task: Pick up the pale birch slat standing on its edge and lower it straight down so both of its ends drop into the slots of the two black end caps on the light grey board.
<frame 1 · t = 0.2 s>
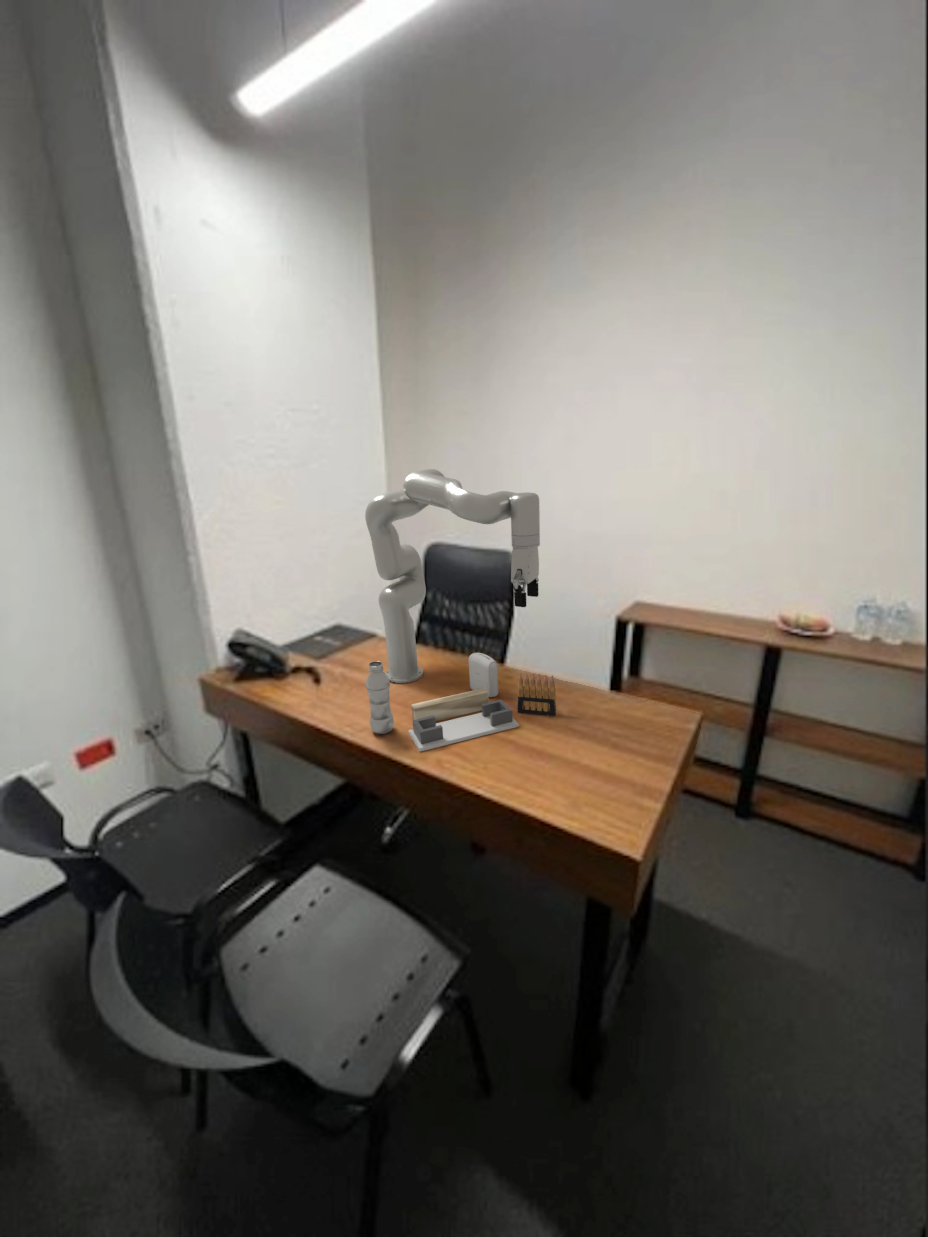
hand: (526, 601, 157), 31 cm above the table, tool pointing down, fingers open, 9 cm apart
slat: (451, 715, 162), on the table
plastic bottle: (383, 731, 155), on the table
photo printer: (484, 692, 174), on the table
ammunition clip: (536, 713, 160), on the table
end cap board: (463, 730, 153), on the table
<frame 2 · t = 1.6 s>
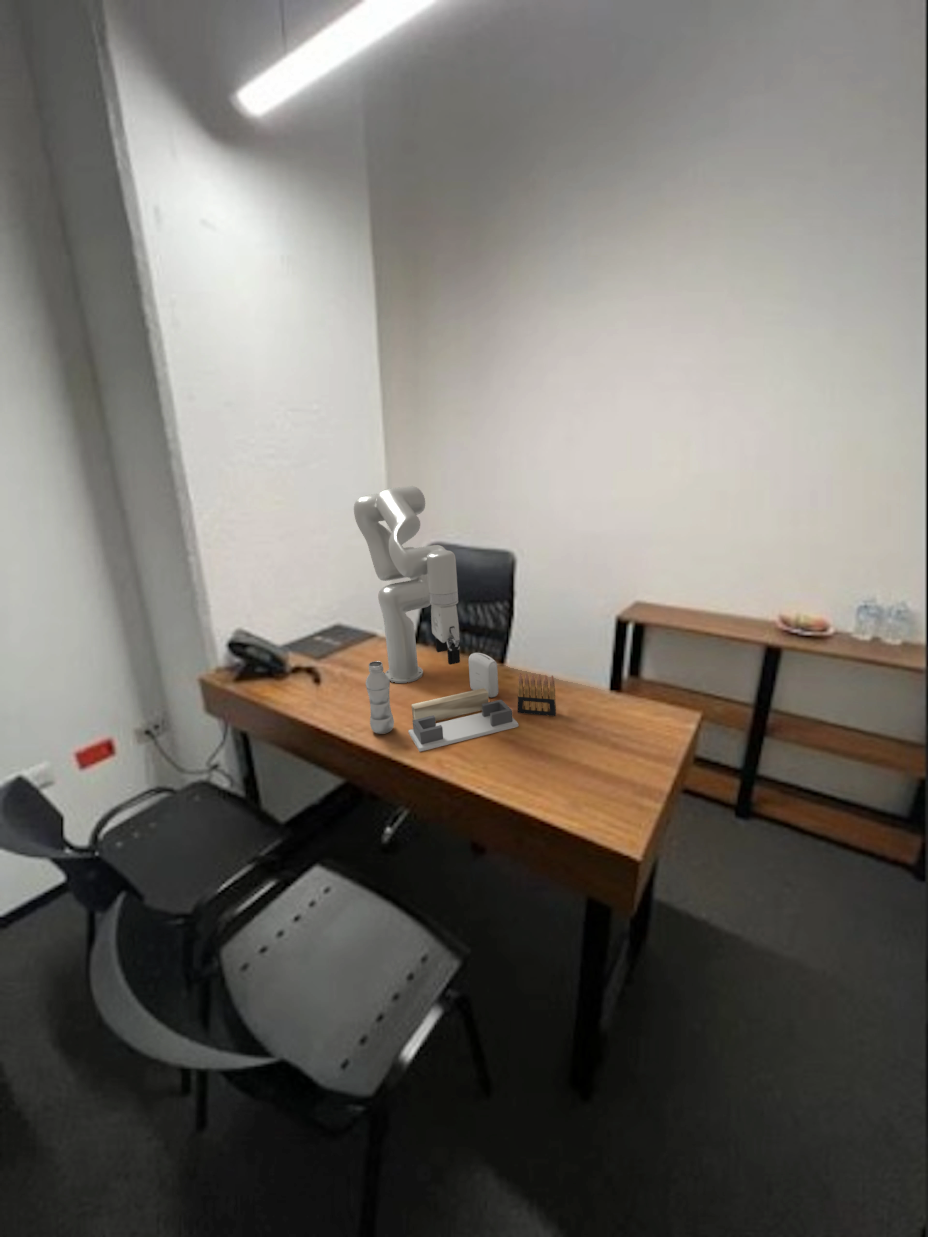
hand: (448, 657, 156), 18 cm above the table, tool pointing down, fingers open, 9 cm apart
nothing on the table moved.
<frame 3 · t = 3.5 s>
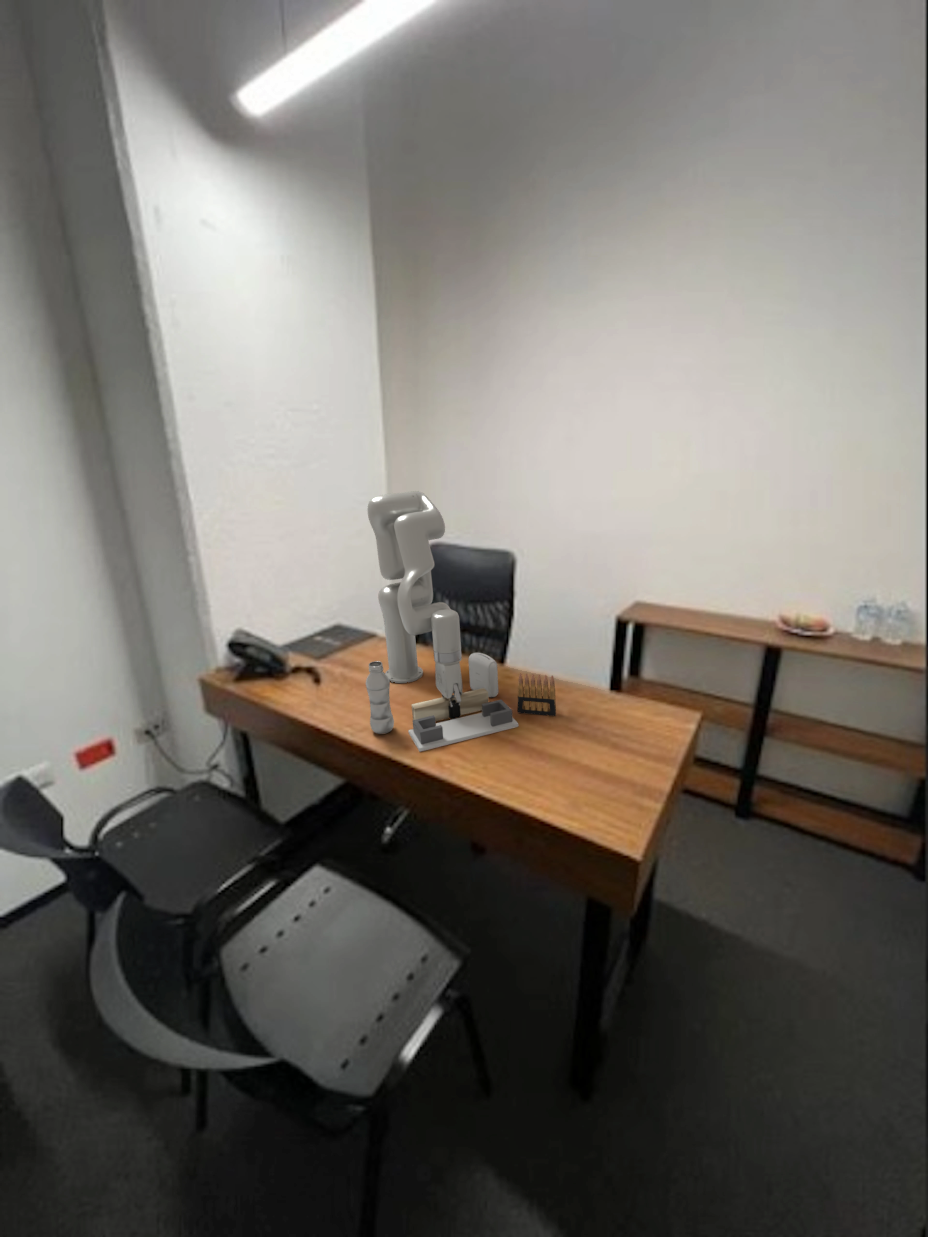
hand: (451, 713, 161), 1 cm above the table, tool pointing down, fingers open, 4 cm apart
nothing on the table moved.
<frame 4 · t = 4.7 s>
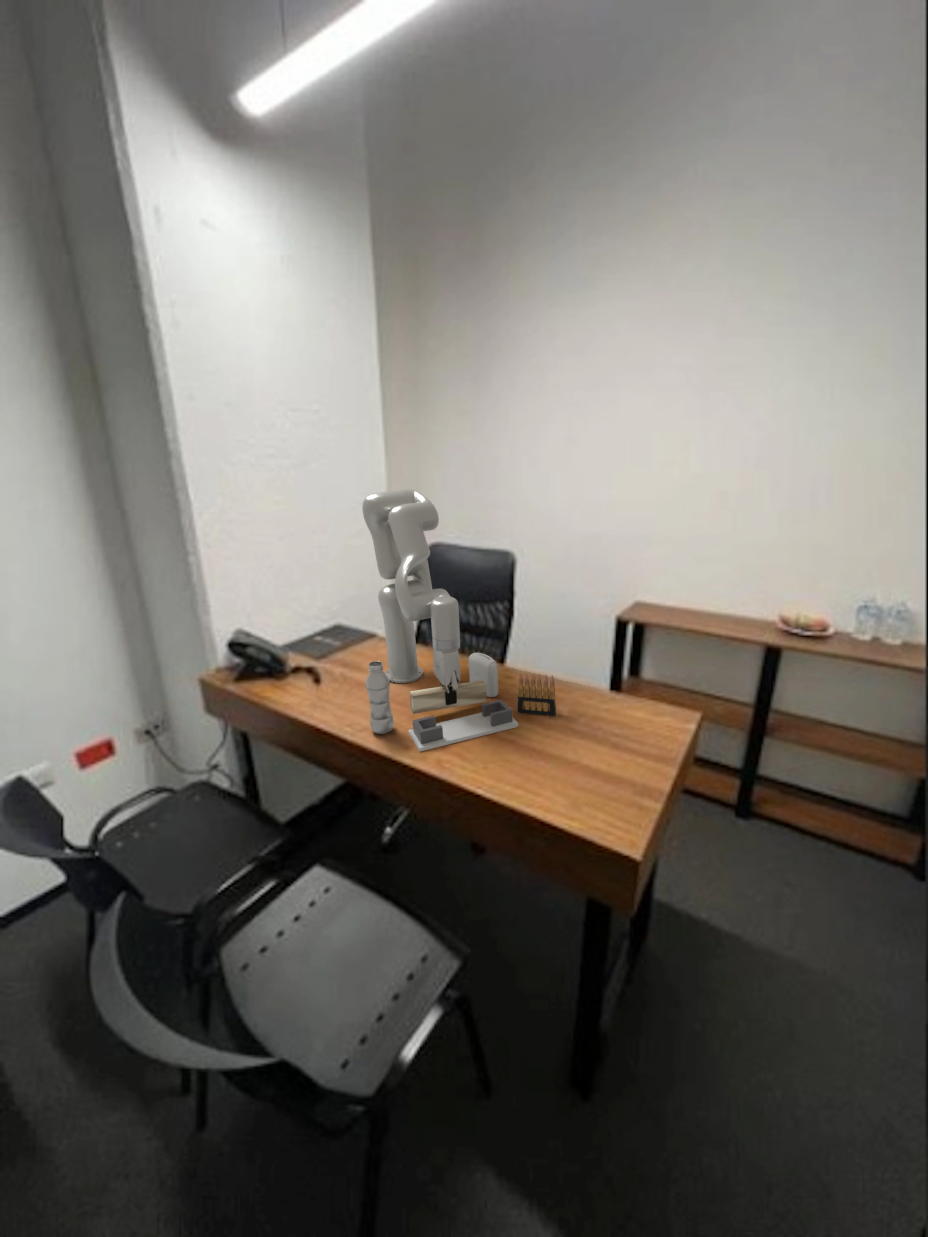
hand: (449, 700, 161), 4 cm above the table, tool pointing down, fingers closed on slat, 2 cm apart
slat: (448, 705, 161), point 3 cm above the table, touching gripper
everything else where it was.
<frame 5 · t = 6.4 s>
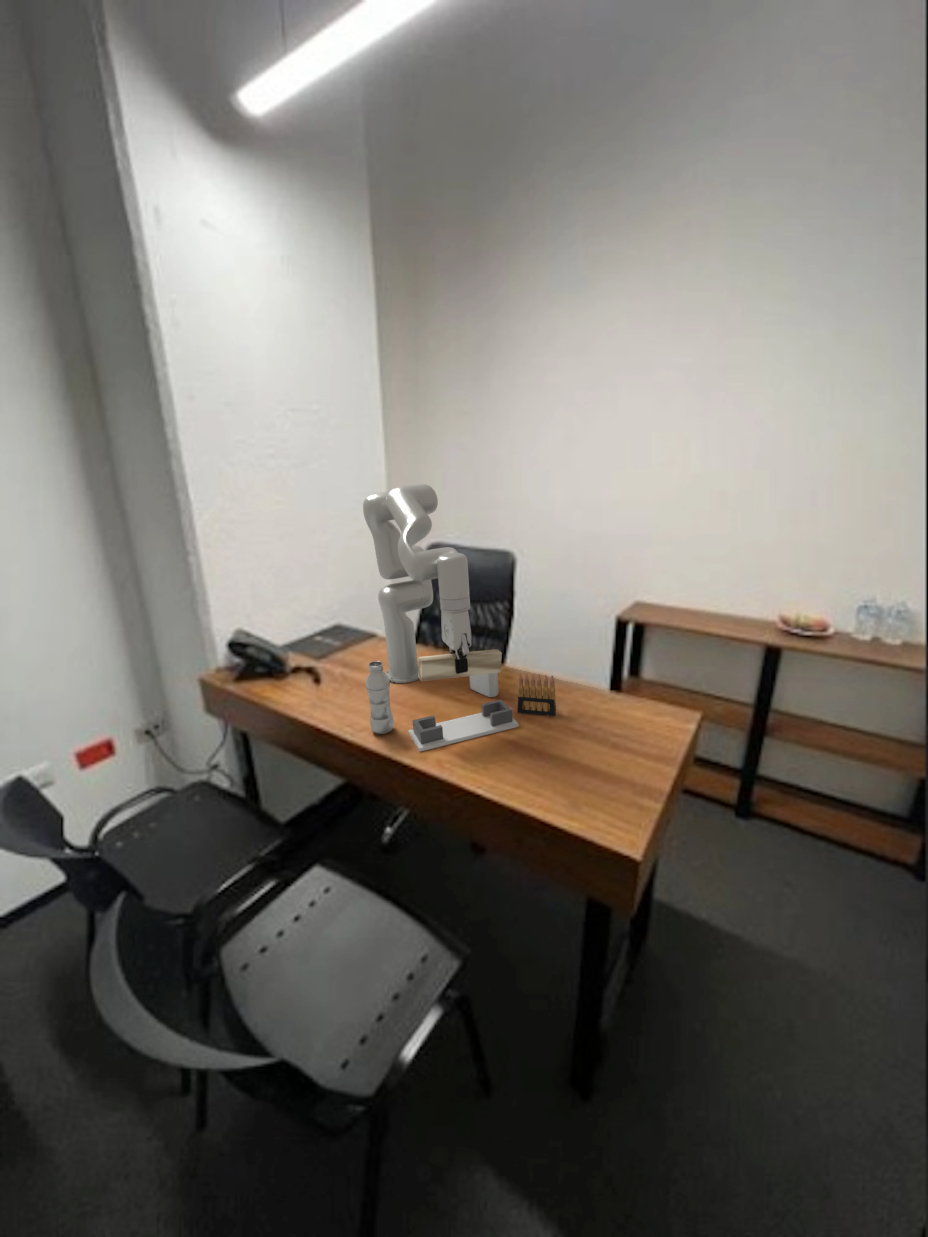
hand: (459, 669, 148), 18 cm above the table, tool pointing down, fingers closed on slat, 2 cm apart
slat: (460, 674, 148), point 16 cm above the table, tilted 6°, touching gripper
everything else where it was.
when the fingers open (3 cm above the table, at t = 8.9 s): slat stays where it is, resting on end cap board.
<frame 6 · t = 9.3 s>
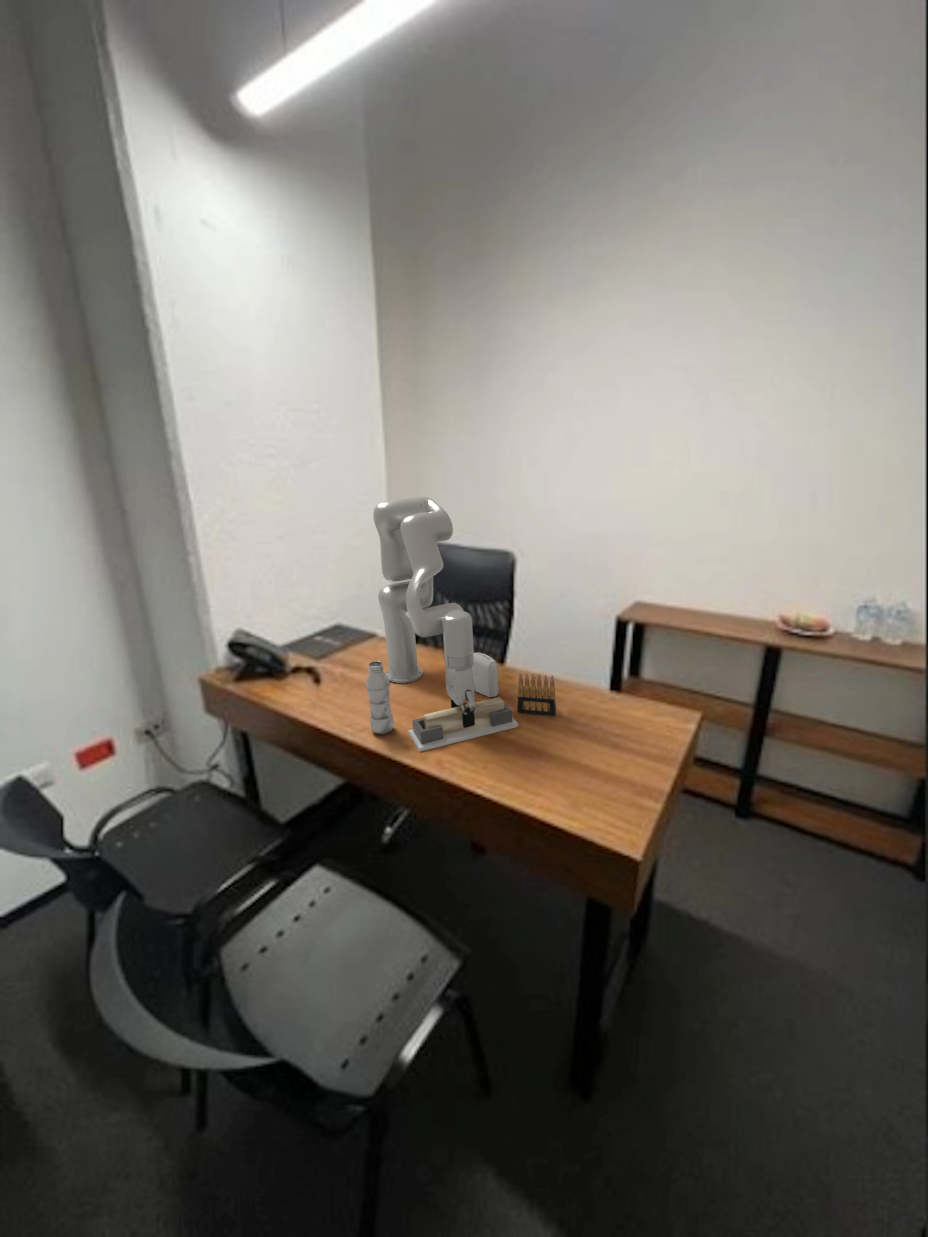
hand: (462, 718, 152), 3 cm above the table, tool pointing down, fingers open, 8 cm apart
slat: (465, 726, 153), point 1 cm above the table, touching end cap board
everything else where it was.
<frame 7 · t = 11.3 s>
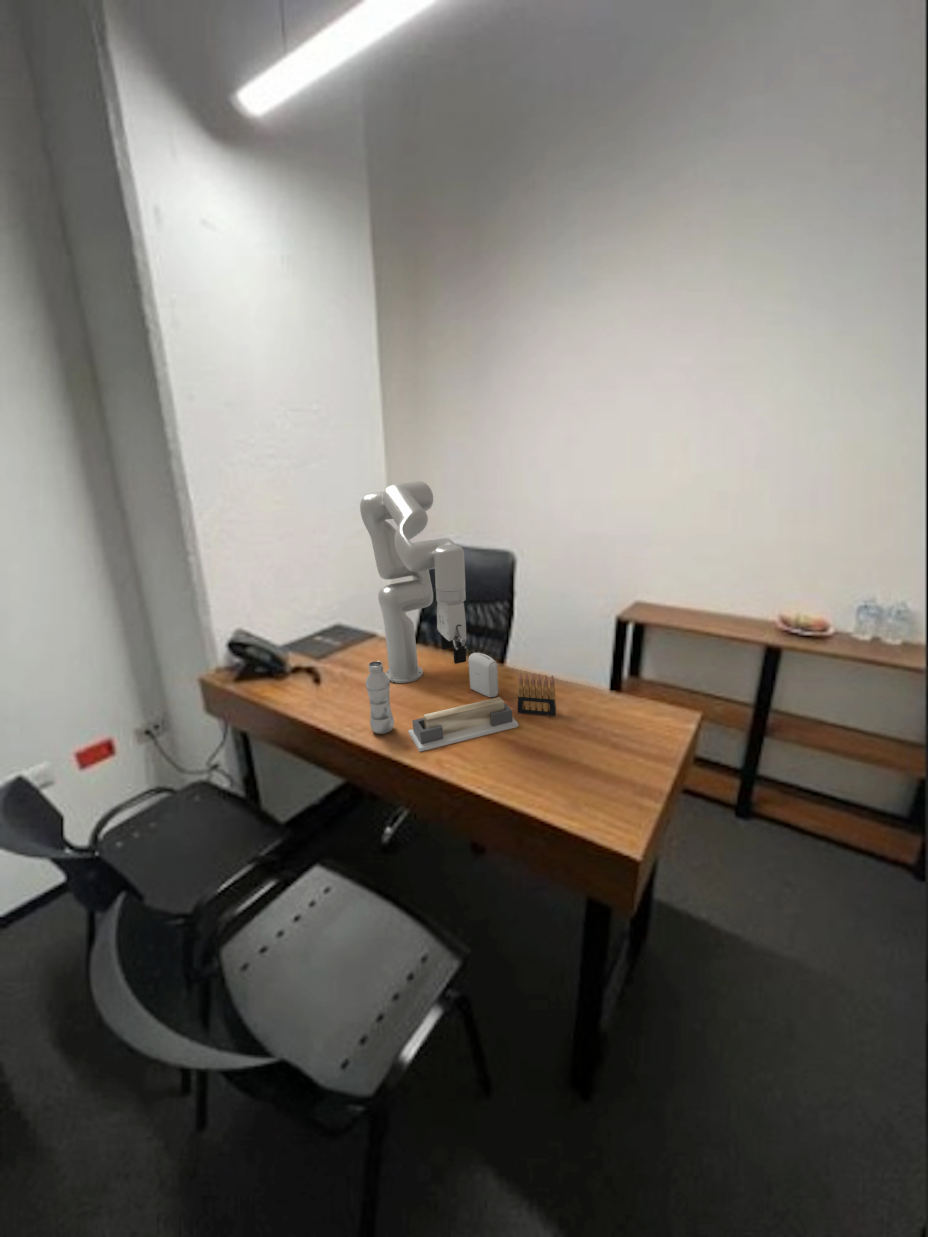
hand: (453, 655, 150), 20 cm above the table, tool pointing down, fingers open, 9 cm apart
nothing on the table moved.
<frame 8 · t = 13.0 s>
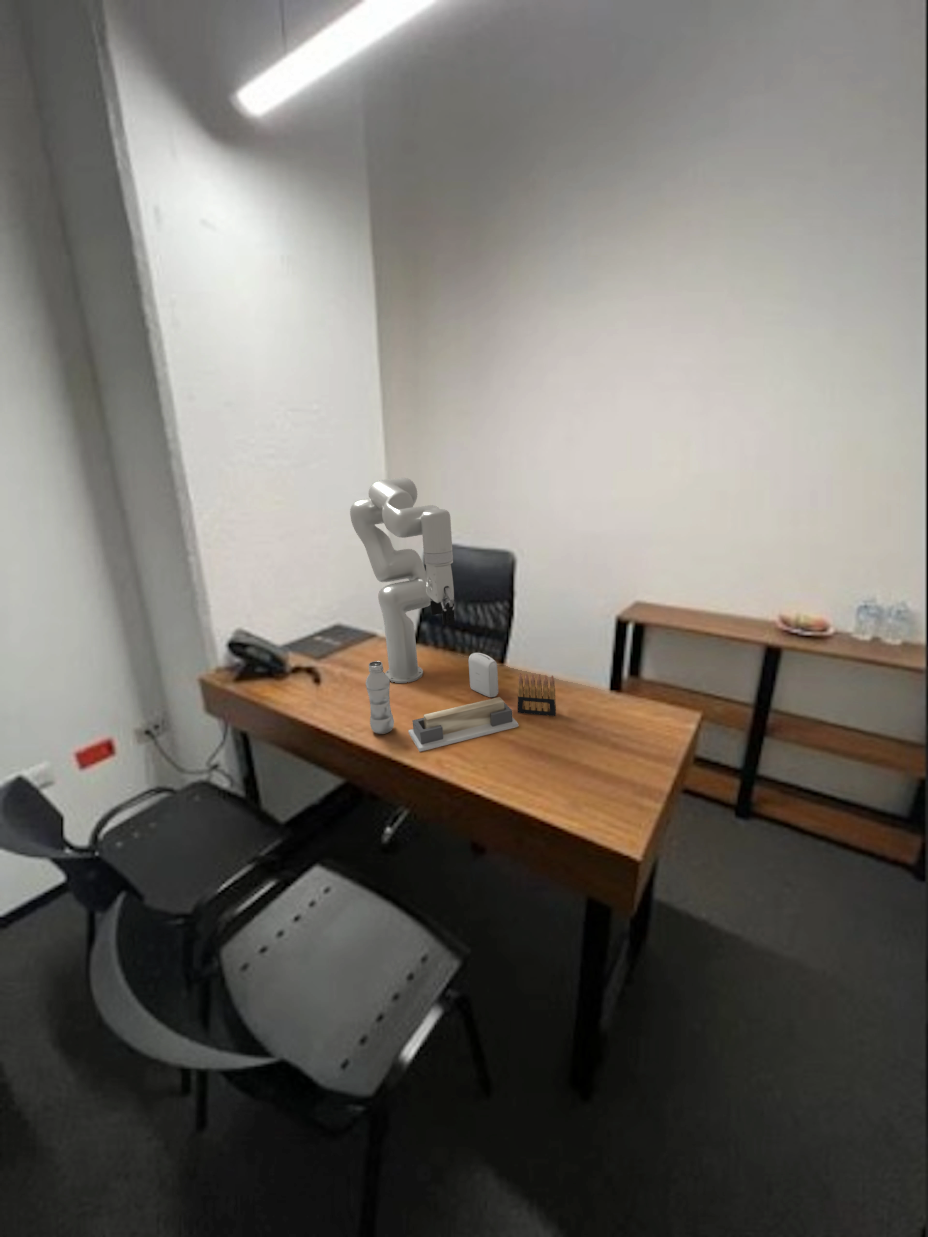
hand: (442, 619, 154), 28 cm above the table, tool pointing down, fingers open, 9 cm apart
nothing on the table moved.
at the end: slat 0.6 cm off-centre on the end cap board, point 1.0 cm above the end cap board's base; slat tilted 0°; the gripper is holding nothing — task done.
